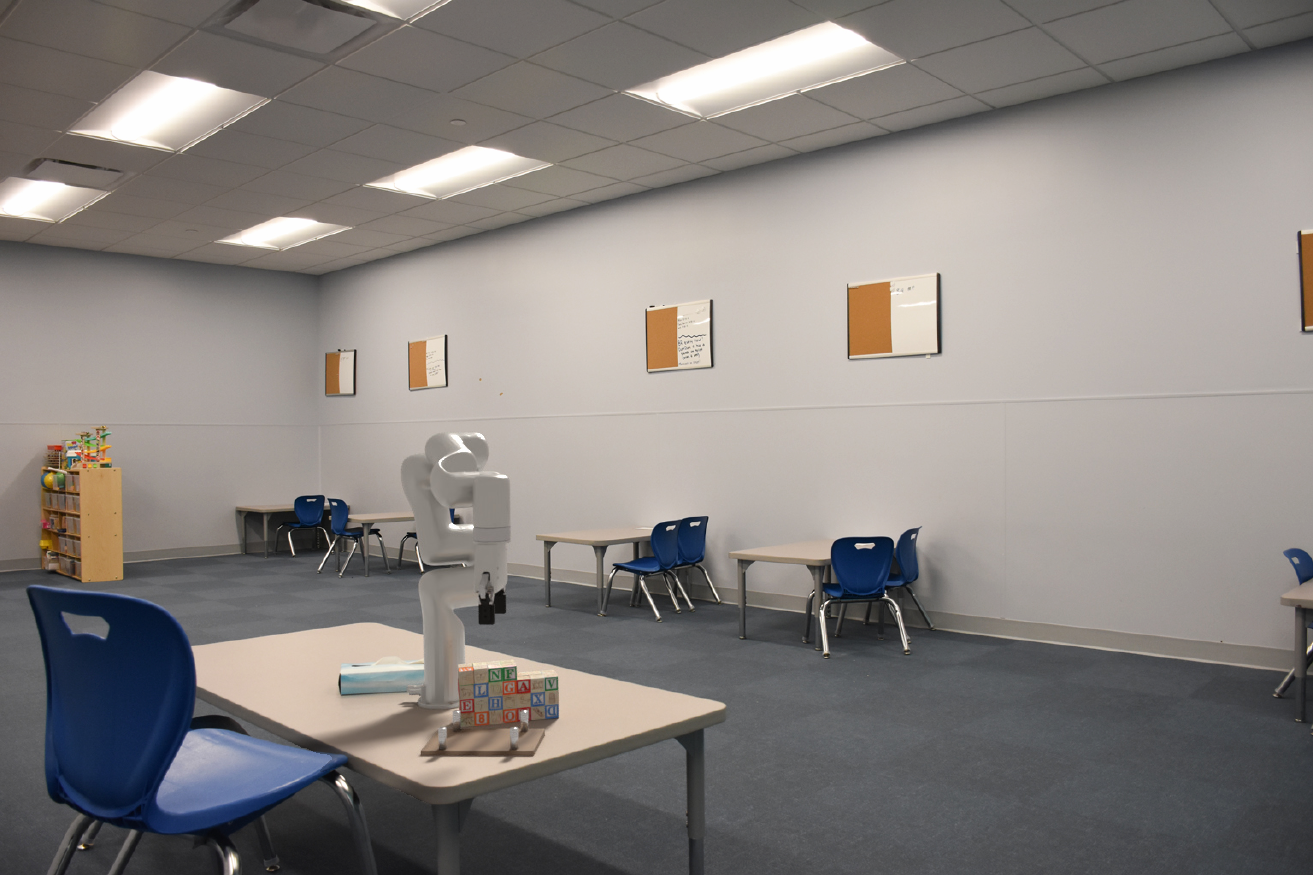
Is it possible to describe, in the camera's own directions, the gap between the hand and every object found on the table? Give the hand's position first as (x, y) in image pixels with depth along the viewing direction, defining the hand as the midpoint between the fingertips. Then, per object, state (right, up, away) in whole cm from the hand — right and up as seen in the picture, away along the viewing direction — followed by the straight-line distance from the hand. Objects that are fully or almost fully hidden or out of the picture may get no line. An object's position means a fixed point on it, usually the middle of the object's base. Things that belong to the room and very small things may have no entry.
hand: (492, 618), depth 187 cm
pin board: (-1, -25, -4) cm, 25 cm away
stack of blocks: (+1, -25, +14) cm, 29 cm away
